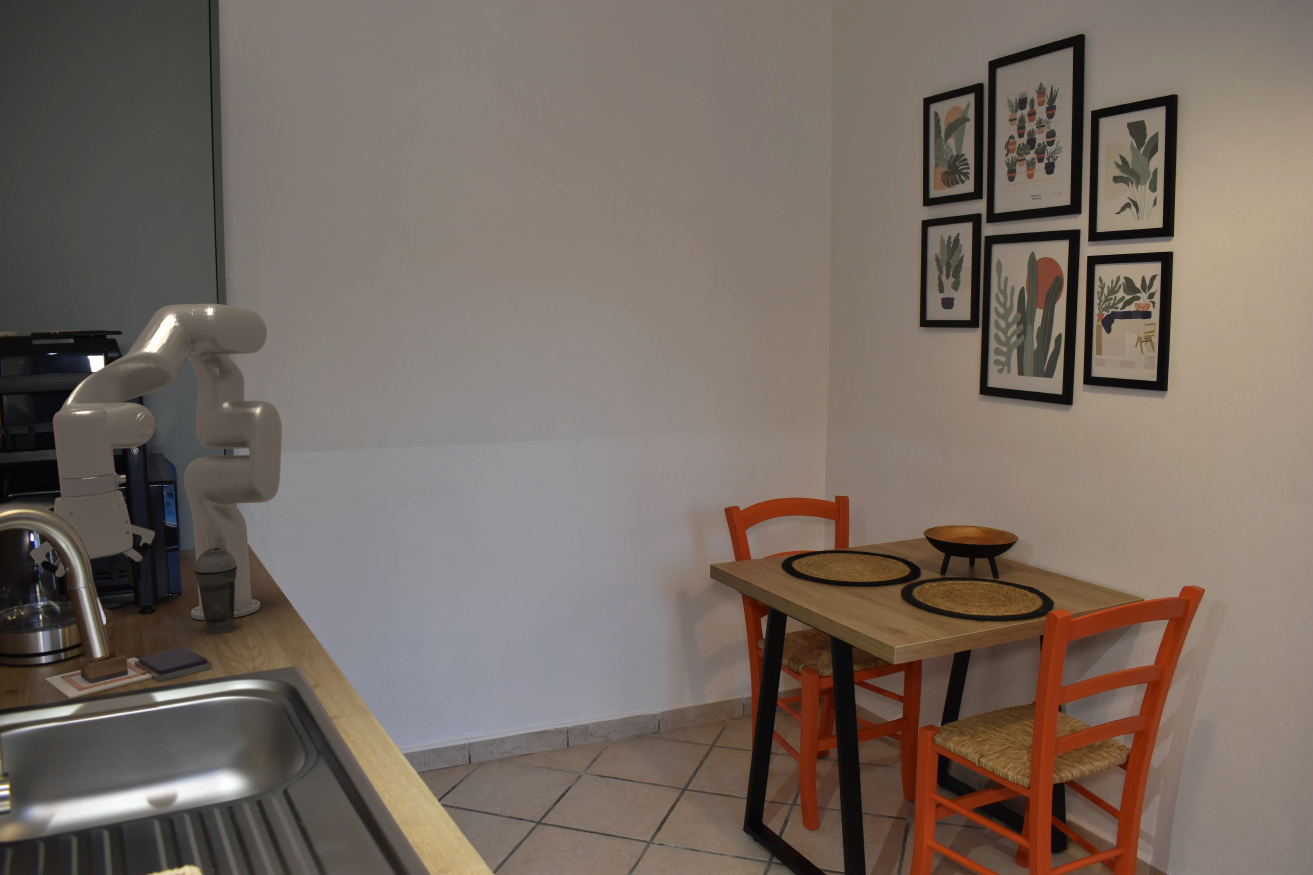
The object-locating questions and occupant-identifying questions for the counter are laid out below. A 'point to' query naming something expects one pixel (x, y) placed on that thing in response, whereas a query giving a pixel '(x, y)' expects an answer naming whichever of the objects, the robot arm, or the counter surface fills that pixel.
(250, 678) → the counter surface
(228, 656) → the counter surface
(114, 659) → the stamp
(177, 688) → the counter surface
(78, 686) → the print card
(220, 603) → the beverage cup
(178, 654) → the ink pad
